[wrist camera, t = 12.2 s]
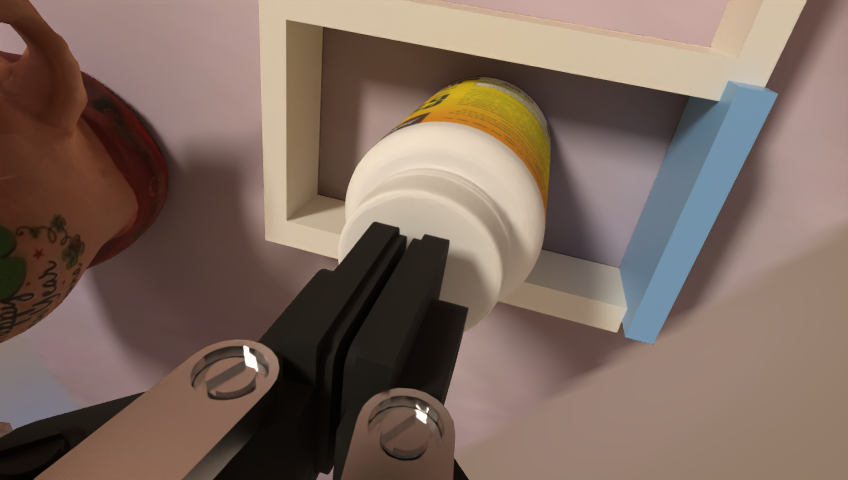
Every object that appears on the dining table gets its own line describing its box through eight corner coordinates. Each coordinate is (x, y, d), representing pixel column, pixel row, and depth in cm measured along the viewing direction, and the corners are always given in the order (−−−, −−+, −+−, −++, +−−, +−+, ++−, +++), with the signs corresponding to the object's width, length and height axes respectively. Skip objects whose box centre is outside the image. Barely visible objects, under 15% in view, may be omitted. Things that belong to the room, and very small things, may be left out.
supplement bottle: (464, 43, 18) (373, 96, 9) (582, 130, 18) (600, 259, 10) (392, 157, 21) (270, 281, 12) (495, 230, 21) (449, 401, 13)
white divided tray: (914, -339, 12) (1061, -474, 8) (632, 296, 21) (647, 357, 18) (304, -373, 14) (220, -489, 11) (297, 212, 23) (252, 250, 20)
